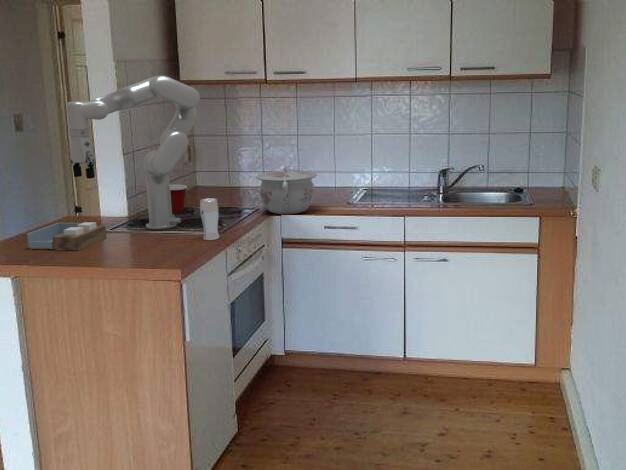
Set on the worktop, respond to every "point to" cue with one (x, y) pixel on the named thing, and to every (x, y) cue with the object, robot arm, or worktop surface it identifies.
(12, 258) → the worktop surface
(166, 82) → the robot arm
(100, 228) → the tan slab
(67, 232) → the tile
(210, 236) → the beer glass
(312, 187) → the chamber pot
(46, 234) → the box
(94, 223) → the tile
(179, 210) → the plastic cup
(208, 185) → the worktop surface
